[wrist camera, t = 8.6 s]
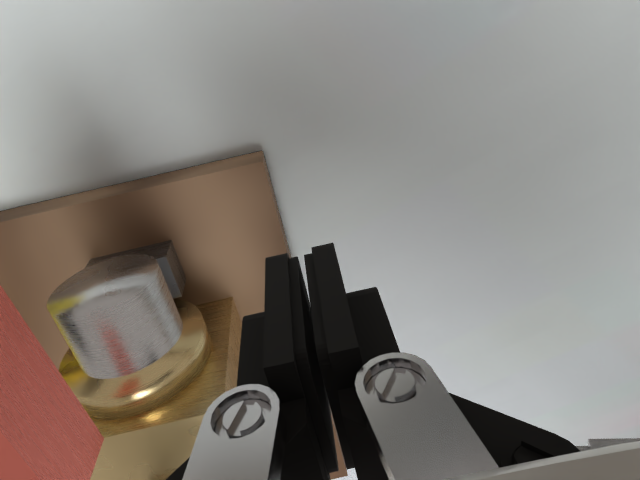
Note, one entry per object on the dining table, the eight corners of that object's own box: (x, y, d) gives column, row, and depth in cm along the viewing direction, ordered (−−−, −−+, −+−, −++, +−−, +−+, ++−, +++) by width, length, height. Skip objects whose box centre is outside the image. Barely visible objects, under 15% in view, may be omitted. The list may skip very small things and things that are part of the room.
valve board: (262, 150, 22) (262, 161, 20) (343, 454, 31) (347, 475, 30) (-29, 217, 22) (-48, 233, 20) (140, 502, 31) (134, 525, 30)
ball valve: (206, 221, 21) (169, 387, 13) (291, 465, 29) (305, 678, 20) (46, 258, 21) (-104, 451, 12) (172, 492, 29) (134, 718, 20)
